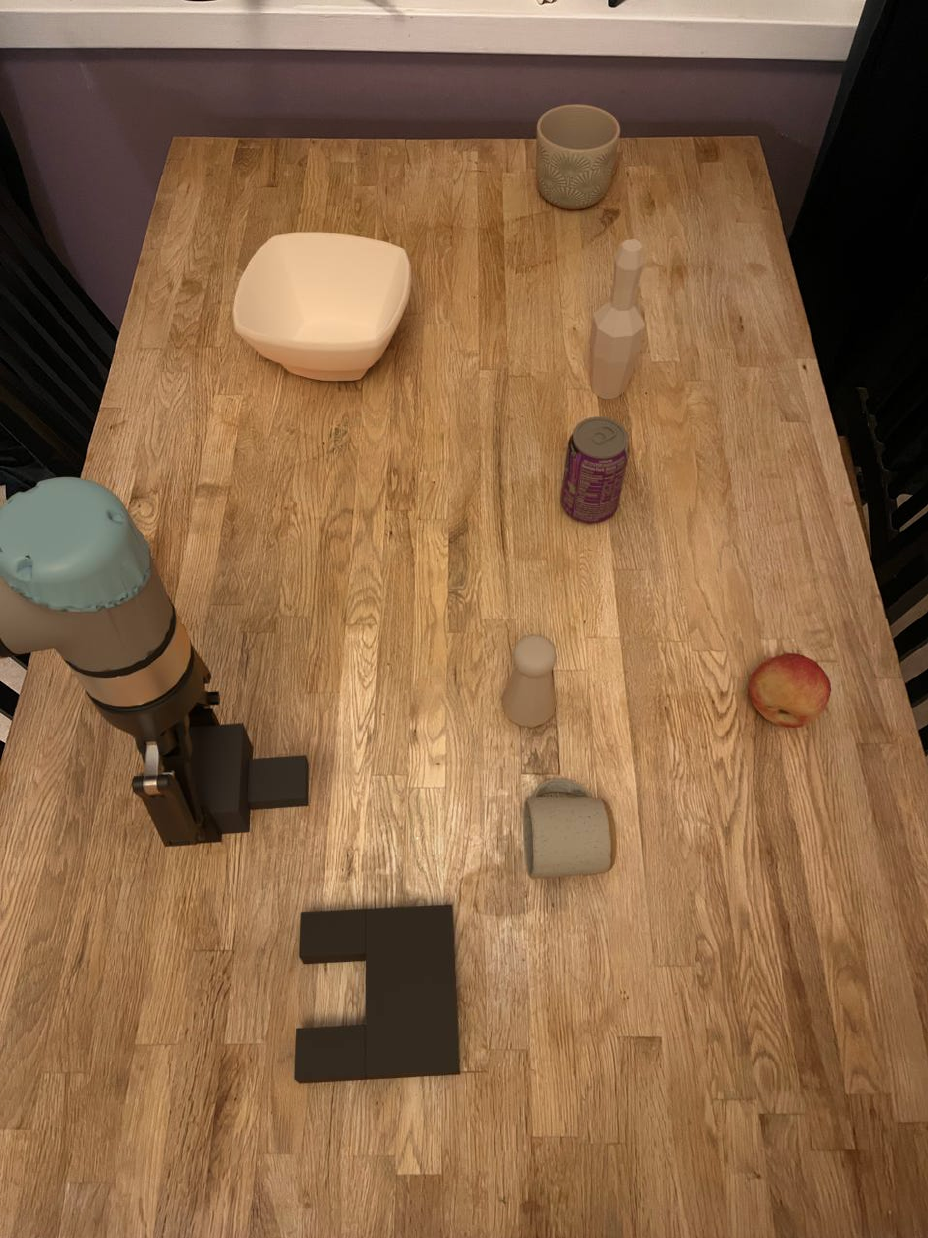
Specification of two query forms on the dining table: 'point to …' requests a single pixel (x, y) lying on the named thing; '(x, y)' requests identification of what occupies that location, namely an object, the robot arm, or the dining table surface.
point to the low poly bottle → (618, 326)
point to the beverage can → (594, 469)
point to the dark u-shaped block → (385, 995)
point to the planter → (575, 155)
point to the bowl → (322, 302)
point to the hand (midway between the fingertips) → (209, 791)
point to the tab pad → (242, 777)
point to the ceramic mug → (567, 832)
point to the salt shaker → (531, 682)
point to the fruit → (790, 690)
